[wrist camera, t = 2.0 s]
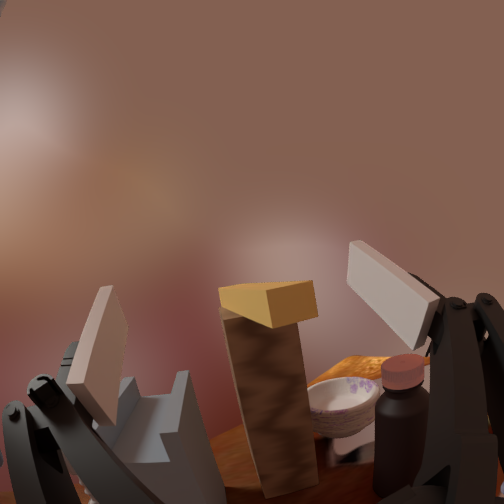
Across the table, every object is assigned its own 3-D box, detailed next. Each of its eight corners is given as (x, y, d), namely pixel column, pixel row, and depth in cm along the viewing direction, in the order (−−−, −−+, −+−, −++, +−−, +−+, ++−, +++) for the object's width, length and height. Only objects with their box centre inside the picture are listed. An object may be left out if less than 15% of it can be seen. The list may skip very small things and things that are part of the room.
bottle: (389, 464, 28) (390, 349, 30) (427, 473, 23) (440, 350, 24) (362, 492, 24) (360, 372, 26) (403, 505, 19) (418, 378, 20)
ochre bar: (272, 328, 21) (265, 290, 21) (221, 306, 44) (218, 288, 44) (318, 316, 22) (312, 280, 22) (245, 301, 45) (242, 283, 45)
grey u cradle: (161, 561, 14) (77, 433, 16) (169, 491, 30) (124, 377, 32) (236, 558, 16) (177, 431, 17) (224, 486, 32) (188, 370, 33)
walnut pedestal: (265, 498, 28) (223, 320, 30) (250, 451, 41) (218, 307, 43) (319, 483, 29) (294, 305, 31) (292, 441, 43) (268, 298, 45)
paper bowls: (389, 407, 45) (389, 374, 46) (363, 453, 34) (362, 416, 34) (325, 403, 55) (322, 373, 56) (287, 439, 44) (281, 406, 44)
